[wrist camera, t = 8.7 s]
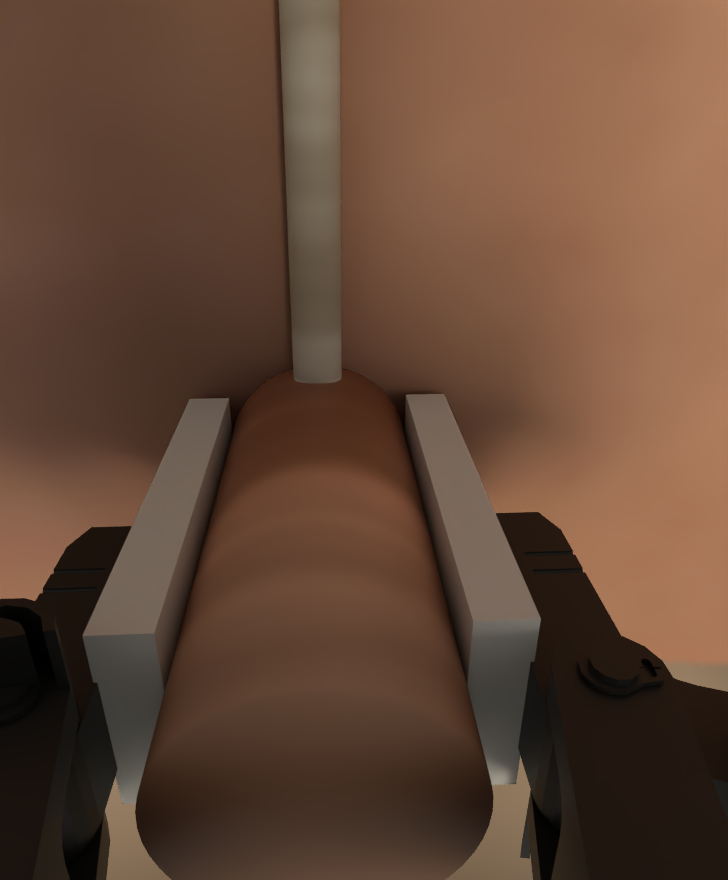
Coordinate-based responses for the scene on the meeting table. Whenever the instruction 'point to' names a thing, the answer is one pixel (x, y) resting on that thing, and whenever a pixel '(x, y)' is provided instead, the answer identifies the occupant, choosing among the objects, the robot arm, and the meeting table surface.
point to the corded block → (315, 598)
